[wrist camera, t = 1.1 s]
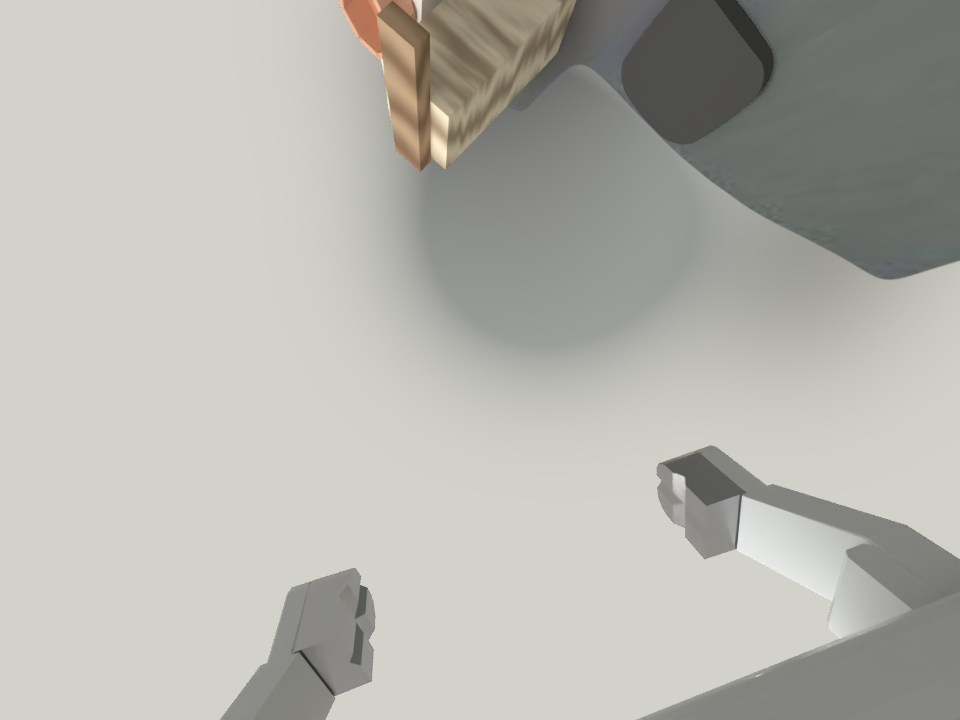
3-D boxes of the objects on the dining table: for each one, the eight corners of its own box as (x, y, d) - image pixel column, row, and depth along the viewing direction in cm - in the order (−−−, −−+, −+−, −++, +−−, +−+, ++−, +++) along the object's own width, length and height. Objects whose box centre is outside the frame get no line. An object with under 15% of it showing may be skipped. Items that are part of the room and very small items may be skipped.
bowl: (357, -72, 42) (329, -49, 41) (418, -12, 43) (391, 12, 42) (366, 4, 51) (342, 25, 50) (416, 53, 52) (394, 74, 51)
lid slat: (392, 0, 35) (376, 15, 34) (429, 33, 35) (414, 48, 34) (406, 140, 53) (396, 150, 53) (430, 161, 54) (420, 171, 53)
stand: (522, -75, 47) (381, 58, 42) (583, -20, 47) (448, 117, 43) (507, 8, 56) (390, 122, 52) (557, 53, 57) (445, 169, 53)
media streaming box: (790, 68, 41) (776, 86, 40) (686, 144, 55) (675, 157, 55) (706, -45, 38) (690, -28, 38) (620, 64, 52) (607, 78, 52)
